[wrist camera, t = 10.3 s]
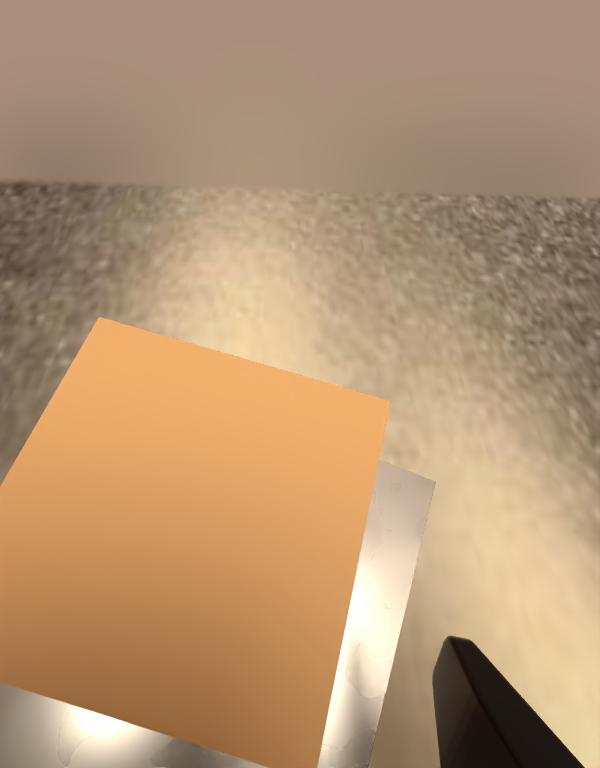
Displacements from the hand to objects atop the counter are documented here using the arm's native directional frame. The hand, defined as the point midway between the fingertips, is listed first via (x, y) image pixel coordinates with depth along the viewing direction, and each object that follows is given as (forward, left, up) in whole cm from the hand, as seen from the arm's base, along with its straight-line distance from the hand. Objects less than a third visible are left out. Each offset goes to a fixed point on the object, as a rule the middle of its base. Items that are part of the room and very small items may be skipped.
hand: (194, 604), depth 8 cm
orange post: (+1, 0, -9) cm, 9 cm away
